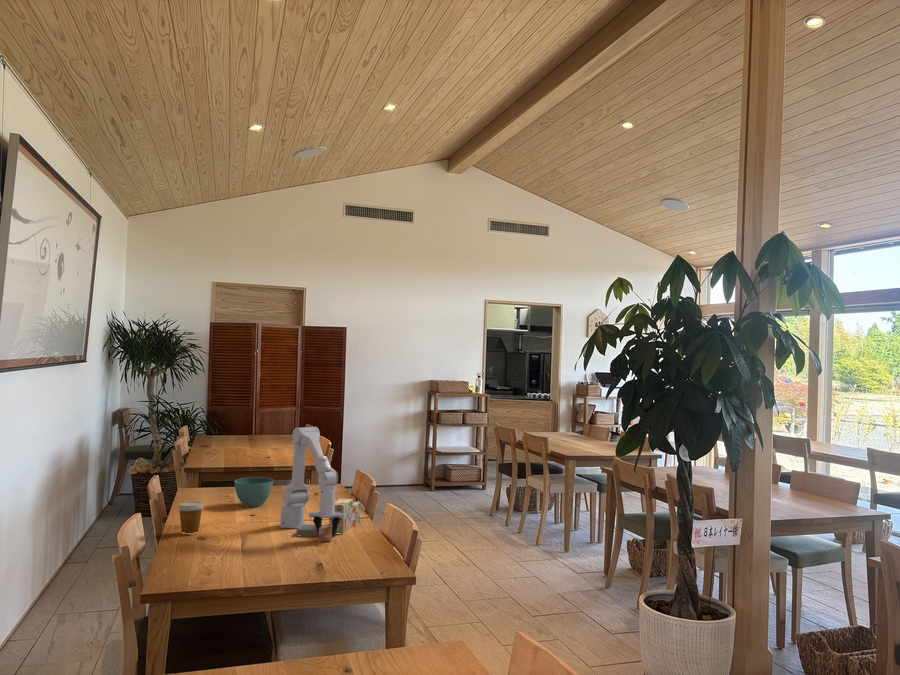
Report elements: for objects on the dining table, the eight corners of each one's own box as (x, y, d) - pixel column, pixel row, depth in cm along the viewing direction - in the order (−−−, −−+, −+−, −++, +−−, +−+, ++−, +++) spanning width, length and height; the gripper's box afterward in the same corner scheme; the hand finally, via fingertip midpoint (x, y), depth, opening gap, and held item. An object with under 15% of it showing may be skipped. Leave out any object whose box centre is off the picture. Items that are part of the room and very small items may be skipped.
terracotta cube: (318, 541, 262) (319, 528, 263) (322, 538, 267) (322, 525, 268) (331, 541, 262) (331, 529, 262) (334, 538, 267) (334, 526, 267)
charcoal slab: (296, 537, 270) (296, 529, 270) (303, 531, 279) (303, 524, 279) (318, 537, 269) (318, 530, 270) (324, 532, 278) (324, 525, 278)
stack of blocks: (346, 522, 296) (347, 494, 296) (360, 523, 295) (360, 495, 295) (328, 534, 275) (329, 503, 275) (343, 535, 274) (343, 504, 274)
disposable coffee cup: (207, 532, 273) (208, 502, 274) (189, 537, 265) (190, 506, 265) (190, 529, 277) (191, 500, 278) (172, 534, 269) (173, 504, 269)
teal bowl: (280, 504, 329) (281, 479, 330) (251, 511, 314) (252, 485, 314) (254, 500, 339) (255, 476, 340) (225, 506, 324) (226, 480, 324)
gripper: (306, 503, 262) (305, 538, 261) (343, 504, 261) (342, 539, 260) (311, 499, 269) (310, 533, 268) (347, 500, 268) (346, 535, 267)
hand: (326, 536), depth 265 cm, fingers closed on terracotta cube, 5 cm apart
